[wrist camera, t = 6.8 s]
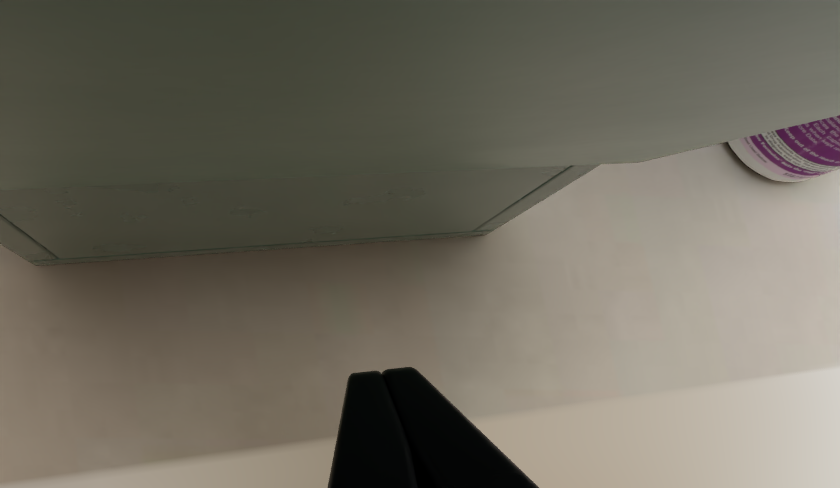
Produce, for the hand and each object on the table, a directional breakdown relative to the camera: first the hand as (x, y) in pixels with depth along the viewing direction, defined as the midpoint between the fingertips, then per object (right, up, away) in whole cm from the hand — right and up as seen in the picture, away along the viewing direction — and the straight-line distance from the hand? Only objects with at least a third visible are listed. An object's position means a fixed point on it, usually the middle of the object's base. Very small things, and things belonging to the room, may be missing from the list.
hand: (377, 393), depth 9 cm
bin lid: (0, +4, -3) cm, 5 cm away
